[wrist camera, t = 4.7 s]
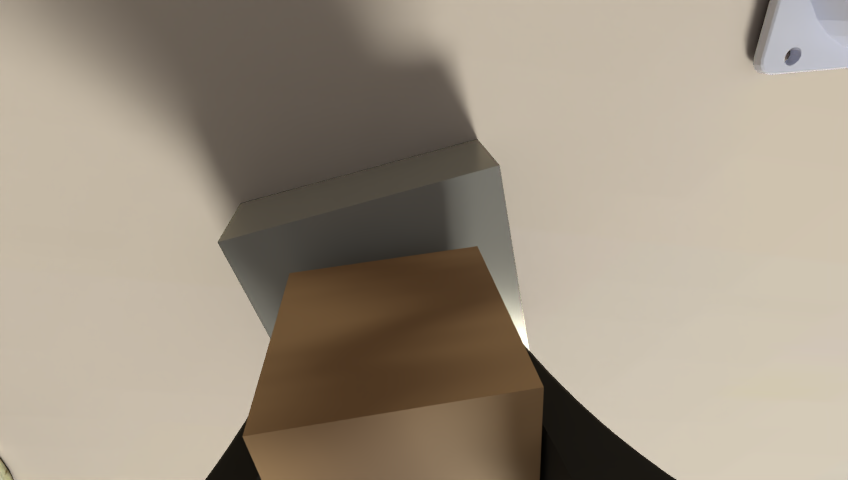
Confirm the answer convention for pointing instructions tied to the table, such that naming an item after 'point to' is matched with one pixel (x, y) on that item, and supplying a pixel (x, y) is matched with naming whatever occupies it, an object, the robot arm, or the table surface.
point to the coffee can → (4, 472)
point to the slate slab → (376, 224)
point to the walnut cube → (396, 377)
